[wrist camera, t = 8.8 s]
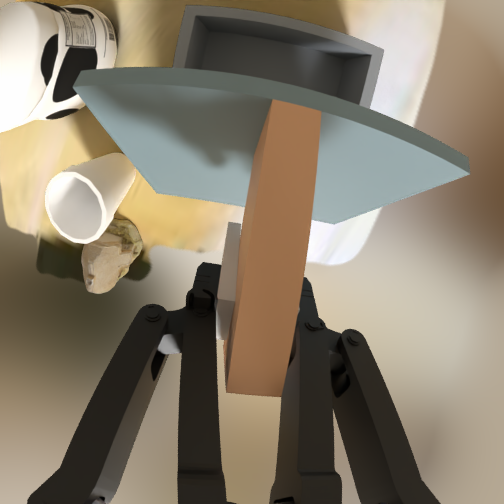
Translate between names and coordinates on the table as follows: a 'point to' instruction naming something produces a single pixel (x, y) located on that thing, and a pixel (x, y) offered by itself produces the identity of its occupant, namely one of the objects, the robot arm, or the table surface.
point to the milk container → (48, 58)
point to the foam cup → (88, 196)
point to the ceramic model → (110, 255)
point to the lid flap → (263, 179)
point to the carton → (278, 51)
